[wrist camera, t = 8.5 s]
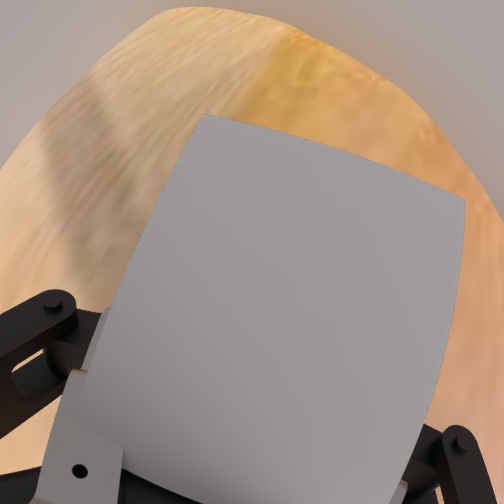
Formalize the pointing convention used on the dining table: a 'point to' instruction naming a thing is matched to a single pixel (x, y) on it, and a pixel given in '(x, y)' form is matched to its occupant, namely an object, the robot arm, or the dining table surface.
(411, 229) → the tall grey carton
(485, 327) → the dining table surface
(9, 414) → the robot arm
